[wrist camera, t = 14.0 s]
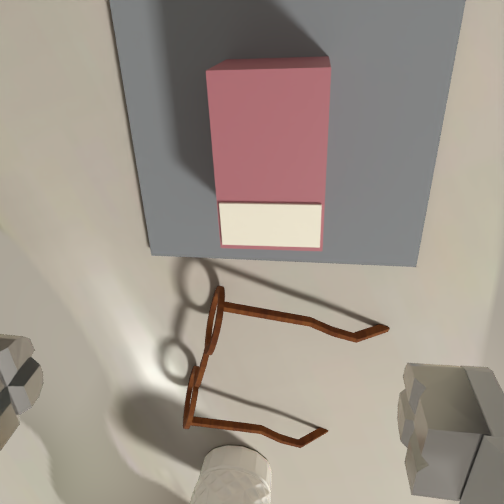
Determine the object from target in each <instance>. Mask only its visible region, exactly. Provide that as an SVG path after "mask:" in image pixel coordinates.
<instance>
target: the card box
mask: <svg viewBox="0 0 504 504" xmlns="http://www.w3.org/2000/svg"><path fill="white" fill-rule="evenodd" d="M206 81H207V93H208V105H209V117H210V128H211V140H212V152H213V164H214V176H215V187H216V199H217V211H218V223H219V235H220V246H221V248H232V249H264V250H296V251H322V250H323V229H324V209H325V188H326V167H327V146H328V125H329V105H330V84H331V64H330V60H329V56H325V57H291V58H257V59H226V60H224V61H223V62H221V63H219V64H217V65H215V66H213V67H211V68H210V69H208V70H206Z"/></svg>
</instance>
